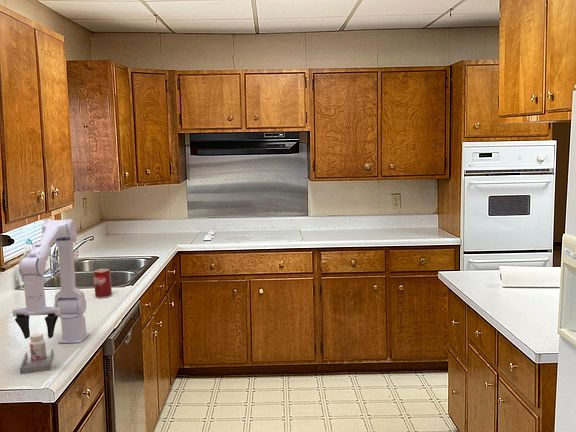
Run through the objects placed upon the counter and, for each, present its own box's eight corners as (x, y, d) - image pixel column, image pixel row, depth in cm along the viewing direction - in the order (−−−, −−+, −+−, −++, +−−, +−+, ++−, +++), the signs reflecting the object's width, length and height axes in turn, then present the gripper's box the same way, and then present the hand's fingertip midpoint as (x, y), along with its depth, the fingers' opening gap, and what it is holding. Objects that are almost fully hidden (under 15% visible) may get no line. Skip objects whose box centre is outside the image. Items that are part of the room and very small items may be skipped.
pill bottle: (28, 362, 214) (25, 337, 213) (36, 357, 218) (33, 332, 217) (42, 362, 213) (39, 337, 212) (49, 357, 218) (47, 332, 216)
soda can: (103, 299, 291) (101, 272, 289) (91, 297, 294) (89, 271, 293) (115, 295, 297) (113, 269, 295) (104, 293, 300) (102, 267, 299)
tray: (26, 357, 218) (25, 352, 217) (53, 354, 220) (53, 349, 220) (20, 373, 203) (19, 368, 203) (49, 370, 205) (49, 364, 205)
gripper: (6, 299, 201) (10, 342, 203) (52, 298, 200) (56, 341, 202) (16, 293, 208) (21, 334, 210) (61, 292, 207) (65, 333, 209)
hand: (39, 337), depth 206 cm, fingers open, 7 cm apart
